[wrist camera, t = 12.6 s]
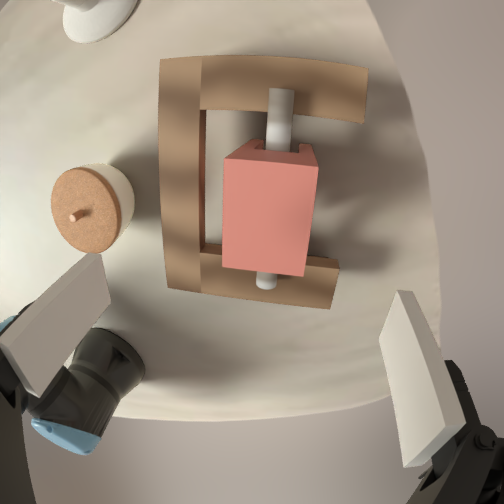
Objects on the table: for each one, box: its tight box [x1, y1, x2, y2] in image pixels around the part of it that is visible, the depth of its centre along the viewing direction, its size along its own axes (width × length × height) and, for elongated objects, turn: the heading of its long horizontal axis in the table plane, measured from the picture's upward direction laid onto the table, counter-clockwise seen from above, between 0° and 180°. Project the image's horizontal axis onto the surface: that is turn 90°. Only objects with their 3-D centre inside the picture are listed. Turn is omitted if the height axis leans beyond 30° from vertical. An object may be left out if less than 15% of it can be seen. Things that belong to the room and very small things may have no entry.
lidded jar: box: [51, 163, 135, 253], centre depth 34 cm, size 11×11×9 cm
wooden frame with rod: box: [158, 55, 369, 309], centre depth 29 cm, size 24×18×10 cm
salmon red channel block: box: [222, 139, 319, 277], centre depth 26 cm, size 8×6×12 cm
